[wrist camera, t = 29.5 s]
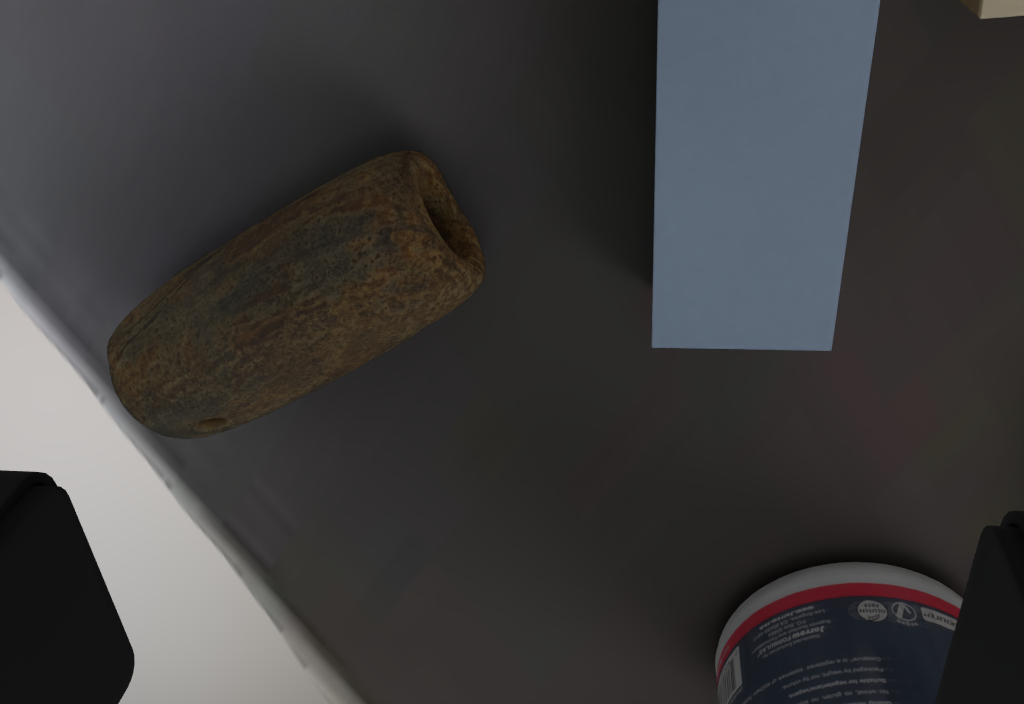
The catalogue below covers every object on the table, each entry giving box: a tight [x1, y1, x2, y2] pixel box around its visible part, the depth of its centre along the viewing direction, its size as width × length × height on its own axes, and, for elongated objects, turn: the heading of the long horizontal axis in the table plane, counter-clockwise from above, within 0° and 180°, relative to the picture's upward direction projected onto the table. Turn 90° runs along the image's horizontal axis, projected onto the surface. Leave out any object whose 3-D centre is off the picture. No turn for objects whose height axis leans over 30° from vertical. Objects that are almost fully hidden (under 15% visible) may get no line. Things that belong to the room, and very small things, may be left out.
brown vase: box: [107, 150, 485, 439], centre depth 36 cm, size 15×7×7 cm, turn 127°
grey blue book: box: [652, 0, 880, 351], centre depth 32 cm, size 12×6×4 cm, turn 4°
